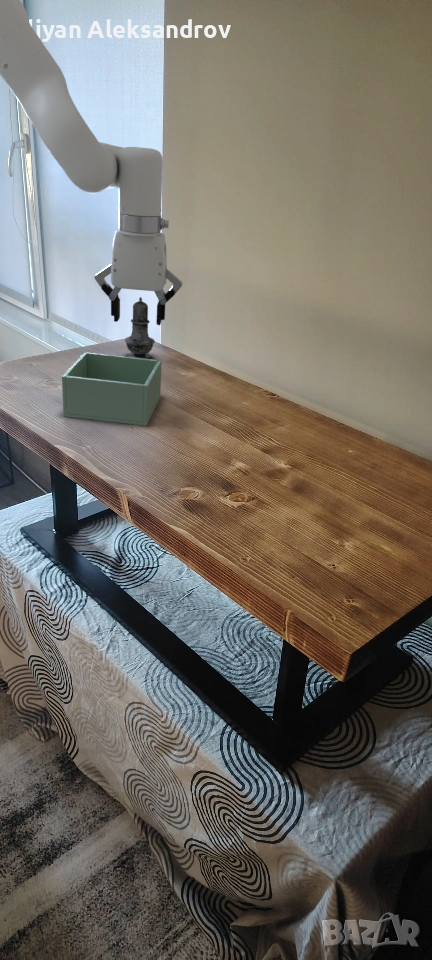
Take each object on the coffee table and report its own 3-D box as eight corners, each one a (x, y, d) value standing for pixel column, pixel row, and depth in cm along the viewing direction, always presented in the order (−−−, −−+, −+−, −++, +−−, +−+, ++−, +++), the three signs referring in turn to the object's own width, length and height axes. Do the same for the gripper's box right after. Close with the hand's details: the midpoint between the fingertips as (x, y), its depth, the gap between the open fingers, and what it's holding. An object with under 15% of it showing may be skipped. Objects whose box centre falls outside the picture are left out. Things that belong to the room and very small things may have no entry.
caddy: (63, 416, 98) (61, 376, 95) (85, 388, 109) (84, 351, 105) (146, 425, 97) (147, 386, 94) (160, 397, 108) (161, 360, 105)
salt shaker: (153, 363, 123) (154, 301, 117) (122, 361, 122) (123, 299, 116) (155, 354, 128) (157, 294, 122) (126, 351, 127) (127, 292, 121)
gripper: (188, 226, 116) (183, 320, 125) (95, 218, 116) (96, 313, 124) (186, 232, 110) (181, 330, 118) (87, 223, 109) (89, 323, 118)
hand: (138, 321), depth 121 cm, fingers open, 7 cm apart
